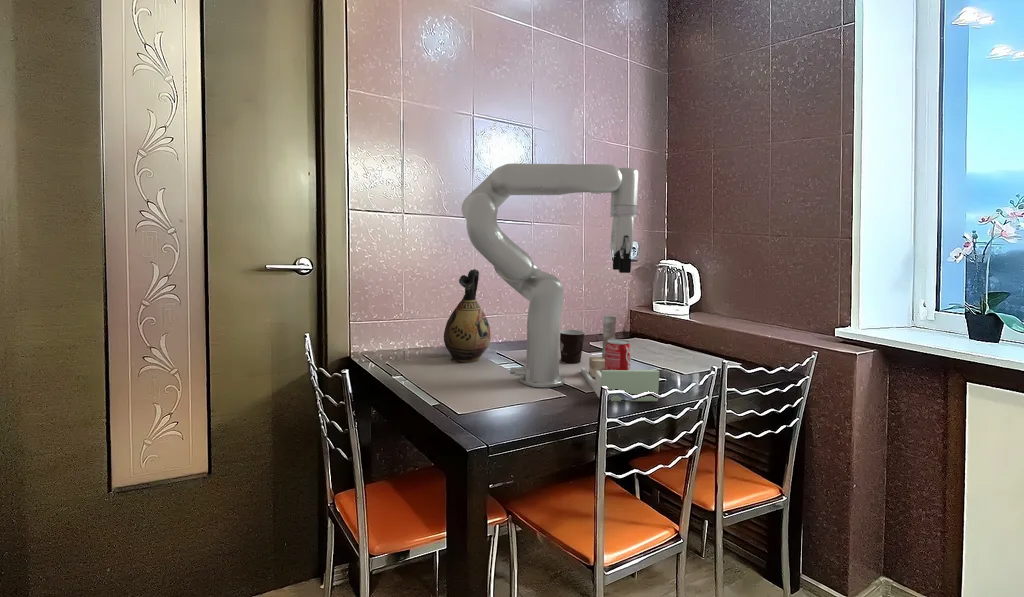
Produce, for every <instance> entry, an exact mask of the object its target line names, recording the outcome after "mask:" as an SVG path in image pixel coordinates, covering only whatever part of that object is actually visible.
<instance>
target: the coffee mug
mask: <svg viewBox="0 0 1024 597" xmlns="http://www.w3.org/2000/svg"><path fill="white" fill-rule="evenodd" d="M585 334H586V332H585V331H583V330H579V329H560V362H561V363H564V364H567V365H571V364H572V365H573V364H574V365H576V364H580V363H581V359H582V354H583V347H584V342H585Z"/></svg>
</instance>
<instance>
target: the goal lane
mask: <svg viewBox="0 0 1024 597" xmlns="http://www.w3.org/2000/svg"><path fill="white" fill-rule="evenodd" d="M580 372H581V373H582V375H583V377H584V378H585V379H586V381H587V380H588V381H587V383H588V384H589V383H590V384H589V386H590V387H591V386H592V387H591V388H592V390H593V391H594V393H595V394H596V396H597V398H599V395H600V387H601V386H607V387H608V388H609V389H612V390H615V389H618V390H624V391H626V392H627V393H630V394H640V393H643V392H648V391H649V392H654V393H656V394H658V395H659V386H660V384H659V383H660V371H659V370H650V369H649V370H640V369H638V370H636V369H635V370H634V369H633V370H632V369H630V370H602V373H601V372H600V371H596V377H595V380H594V379H593V377H592V376H591V375H590V374H589V371H588V370H587V369H586V368H585V367H581V370H580ZM621 400H622V398H621V397H619V396H613V397H612V398H611V401H610V402H622V401H621ZM658 400H659V397H658V398H655V397H653V396H645V397H641V398H638V399H636V400H630V401H629V402H658Z"/></svg>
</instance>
